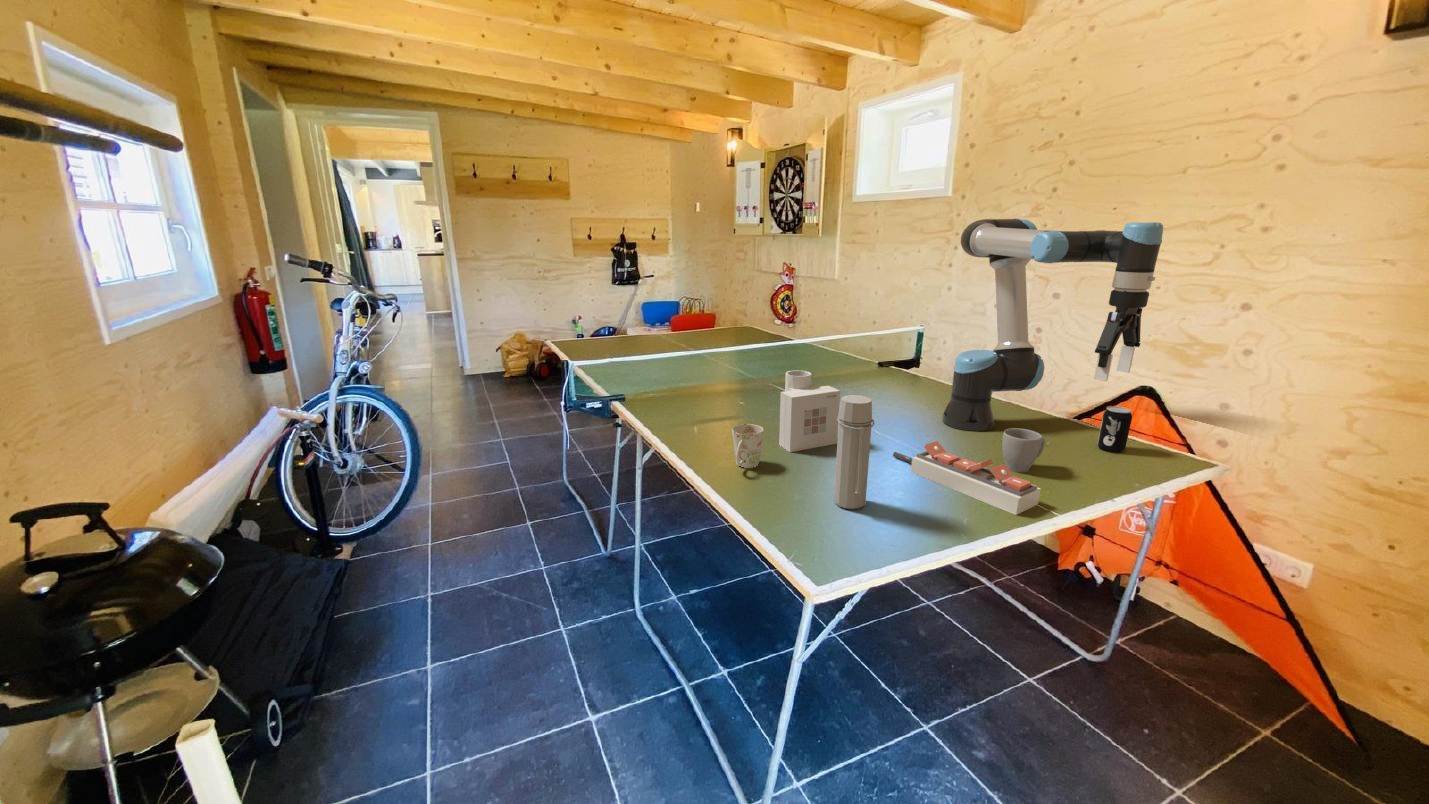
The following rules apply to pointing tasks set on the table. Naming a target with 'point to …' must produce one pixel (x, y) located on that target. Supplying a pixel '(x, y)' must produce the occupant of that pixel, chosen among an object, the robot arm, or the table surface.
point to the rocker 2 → (1009, 478)
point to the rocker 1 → (940, 453)
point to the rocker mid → (971, 465)
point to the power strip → (973, 483)
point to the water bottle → (853, 451)
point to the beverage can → (1114, 429)
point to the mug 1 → (747, 444)
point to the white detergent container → (807, 413)
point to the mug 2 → (1021, 448)
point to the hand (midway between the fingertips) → (1111, 375)
